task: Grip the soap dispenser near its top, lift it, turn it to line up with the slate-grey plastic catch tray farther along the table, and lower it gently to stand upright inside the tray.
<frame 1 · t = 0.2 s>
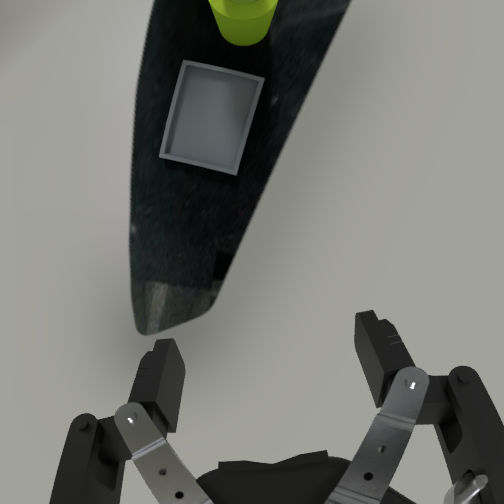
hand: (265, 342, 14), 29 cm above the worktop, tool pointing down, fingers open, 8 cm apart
soap dispenser: (248, 23, 31), on the worktop
catch tray: (211, 116, 36), on the worktop
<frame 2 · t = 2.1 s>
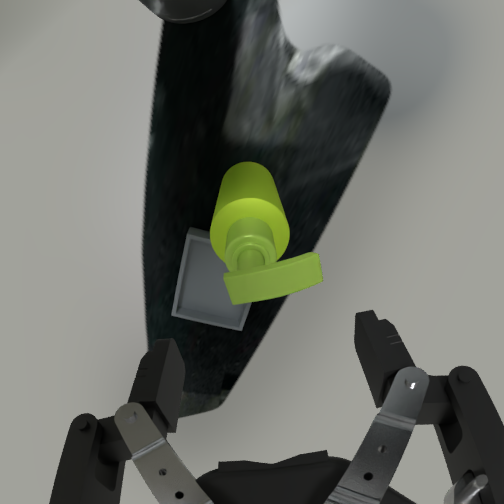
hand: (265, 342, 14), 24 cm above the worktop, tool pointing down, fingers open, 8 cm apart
soap dispenser: (252, 185, 36), on the worktop
catch tray: (217, 278, 41), on the worktop
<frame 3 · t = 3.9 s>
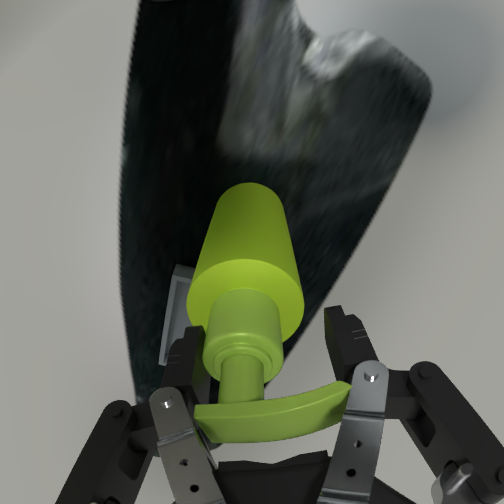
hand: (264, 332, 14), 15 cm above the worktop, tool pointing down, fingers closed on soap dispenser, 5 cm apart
soap dispenser: (255, 213, 28), on the worktop, touching gripper
catch tray: (212, 323, 33), on the worktop
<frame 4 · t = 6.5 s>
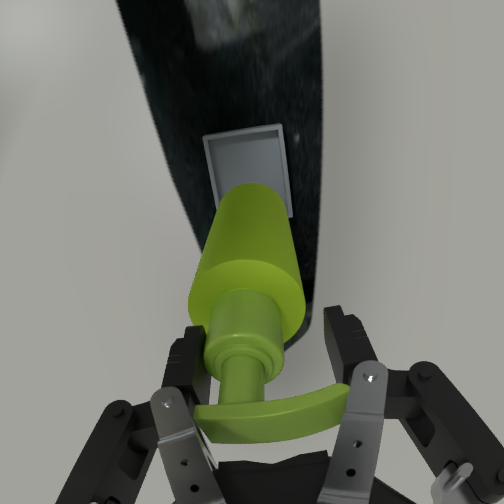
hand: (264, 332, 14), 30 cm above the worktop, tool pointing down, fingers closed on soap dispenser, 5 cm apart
soap dispenser: (257, 213, 28), point 15 cm above the worktop, touching gripper
catch tray: (249, 173, 41), on the worktop
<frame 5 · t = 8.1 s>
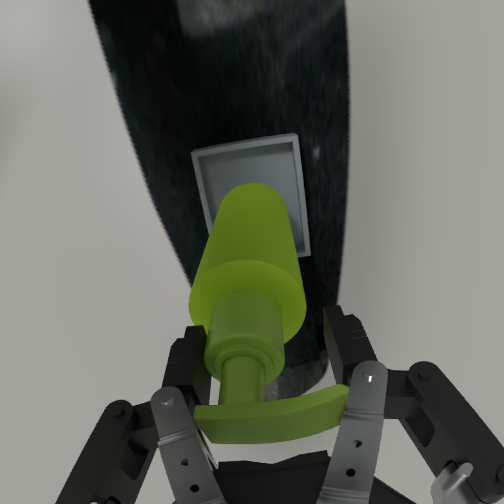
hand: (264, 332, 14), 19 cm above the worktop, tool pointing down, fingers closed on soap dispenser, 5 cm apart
soap dispenser: (259, 213, 28), point 4 cm above the worktop, touching gripper
catch tray: (254, 199, 32), on the worktop
when the fingers open (16 cm above the worktop, at t = 9.4 s): soap dispenser moves 1 cm, resting on catch tray.
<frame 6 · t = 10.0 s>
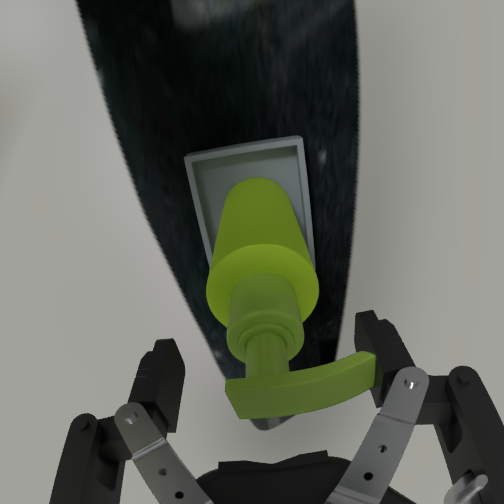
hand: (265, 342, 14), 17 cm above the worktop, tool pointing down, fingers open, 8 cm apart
soap dispenser: (263, 207, 28), resting on catch tray, touching gripper
catch tray: (253, 208, 29), on the worktop
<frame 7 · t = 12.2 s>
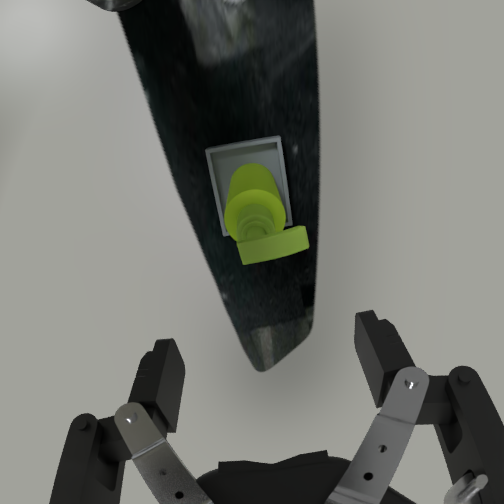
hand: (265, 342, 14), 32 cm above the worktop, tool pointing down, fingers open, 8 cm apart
soap dispenser: (256, 183, 43), resting on catch tray
catch tray: (250, 184, 43), on the worktop
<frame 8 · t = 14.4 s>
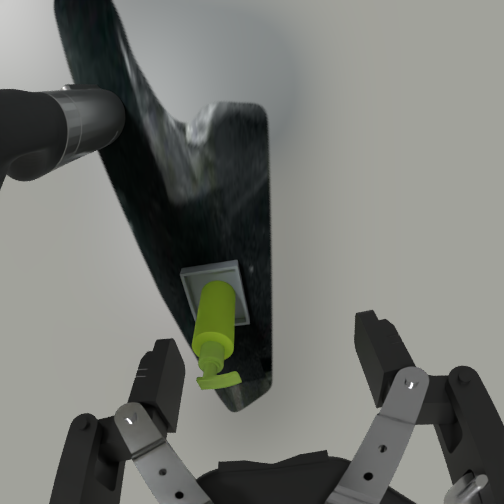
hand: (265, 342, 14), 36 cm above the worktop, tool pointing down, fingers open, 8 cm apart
soap dispenser: (221, 293, 55), resting on catch tray
catch tray: (216, 293, 56), on the worktop
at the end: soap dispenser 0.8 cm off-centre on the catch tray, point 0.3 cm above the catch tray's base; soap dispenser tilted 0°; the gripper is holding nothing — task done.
